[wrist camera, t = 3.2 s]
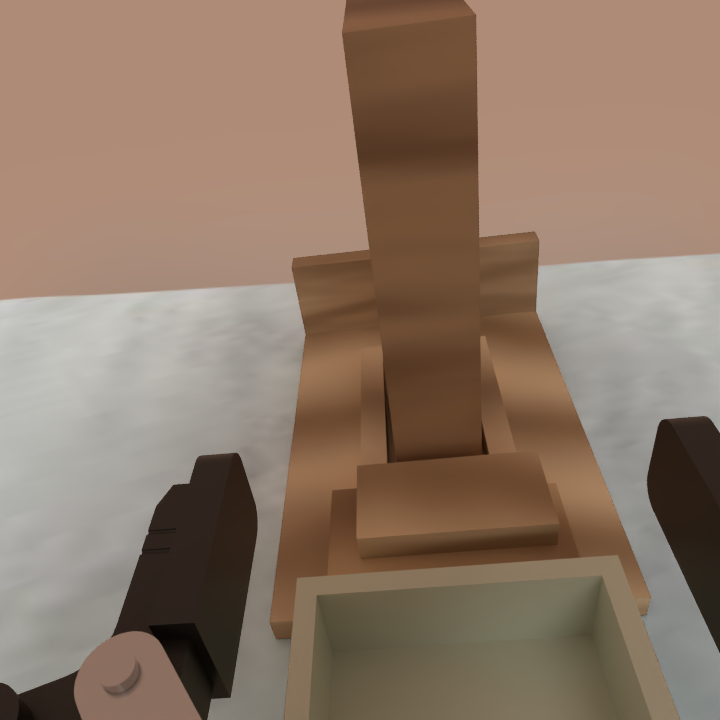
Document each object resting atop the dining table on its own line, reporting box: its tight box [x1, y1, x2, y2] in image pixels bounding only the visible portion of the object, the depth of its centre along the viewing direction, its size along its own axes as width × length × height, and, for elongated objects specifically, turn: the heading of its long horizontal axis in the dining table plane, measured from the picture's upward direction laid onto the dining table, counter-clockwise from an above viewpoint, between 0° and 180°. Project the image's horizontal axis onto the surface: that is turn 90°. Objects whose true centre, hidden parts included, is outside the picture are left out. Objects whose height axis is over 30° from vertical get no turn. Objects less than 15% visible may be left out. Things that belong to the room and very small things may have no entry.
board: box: [342, 0, 482, 462], centre depth 22 cm, size 8×3×16 cm, turn 0°
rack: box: [270, 232, 651, 639], centre depth 26 cm, size 17×12×5 cm
